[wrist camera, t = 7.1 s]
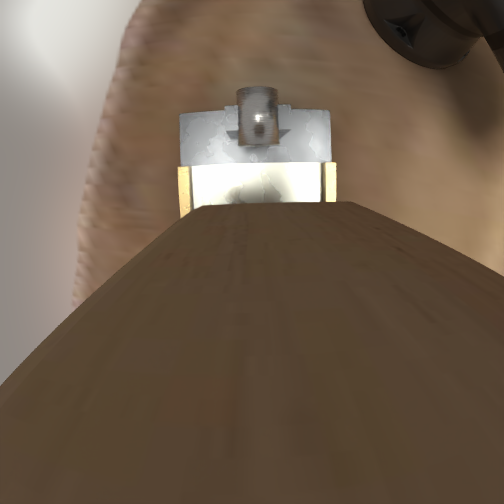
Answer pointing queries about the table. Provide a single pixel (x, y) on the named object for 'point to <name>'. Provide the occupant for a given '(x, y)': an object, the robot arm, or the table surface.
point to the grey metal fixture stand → (255, 153)
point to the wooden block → (268, 370)
